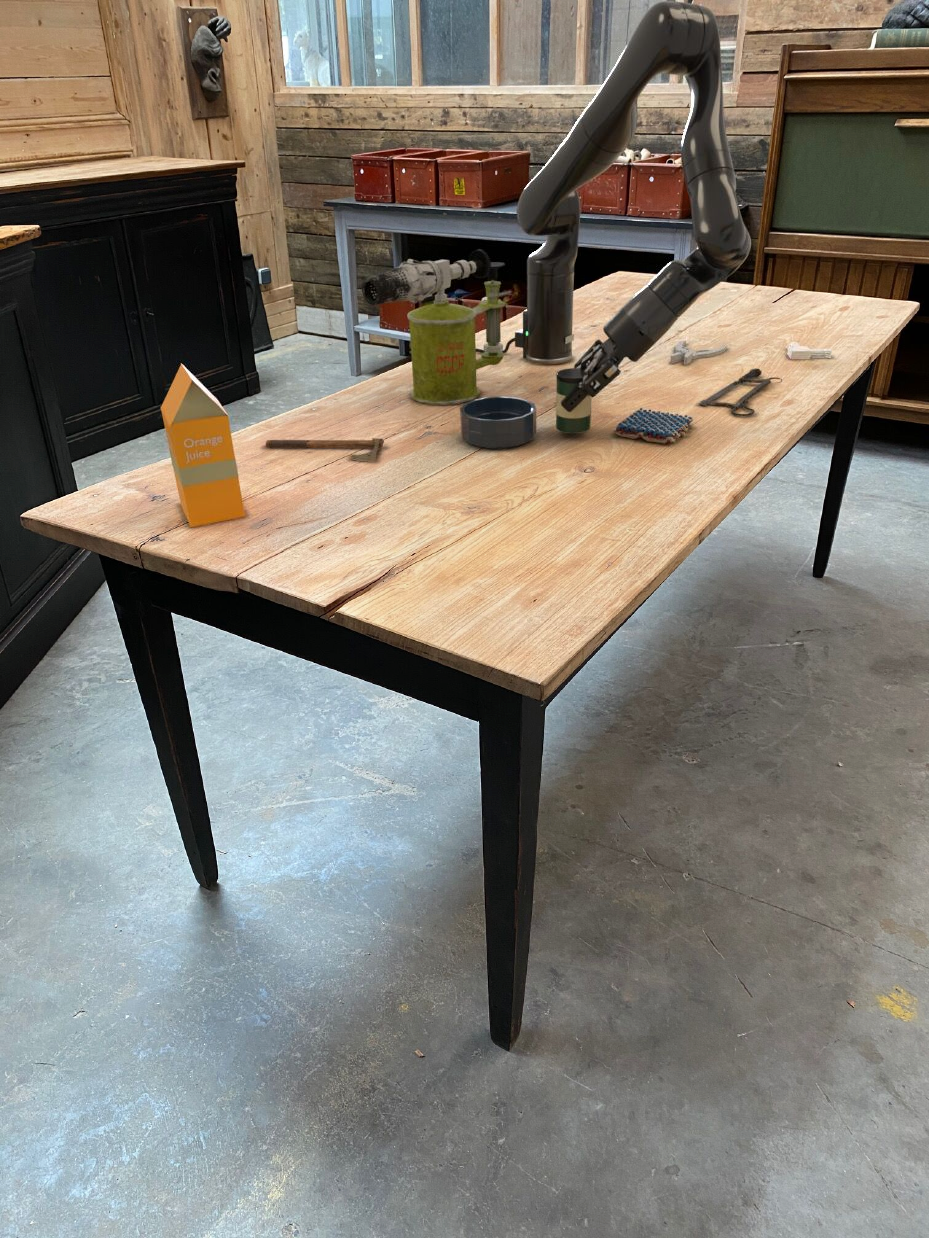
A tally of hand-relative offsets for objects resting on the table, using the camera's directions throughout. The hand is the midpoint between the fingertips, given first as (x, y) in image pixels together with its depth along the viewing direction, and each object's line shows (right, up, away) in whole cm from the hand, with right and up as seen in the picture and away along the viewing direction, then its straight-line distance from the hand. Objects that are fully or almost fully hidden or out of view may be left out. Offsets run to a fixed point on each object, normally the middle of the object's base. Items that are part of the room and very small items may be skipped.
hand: (562, 401), depth 152 cm
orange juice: (-52, -20, -18) cm, 58 cm away
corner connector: (+54, +19, +39) cm, 69 cm away
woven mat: (+15, -5, +3) cm, 16 cm away
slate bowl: (-10, -5, +3) cm, 12 cm away
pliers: (+31, +19, +41) cm, 55 cm away
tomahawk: (-38, -7, +2) cm, 38 cm away
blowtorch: (-20, +7, +24) cm, 32 cm away
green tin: (+2, -4, +2) cm, 5 cm away
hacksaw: (+36, +5, +18) cm, 40 cm away
